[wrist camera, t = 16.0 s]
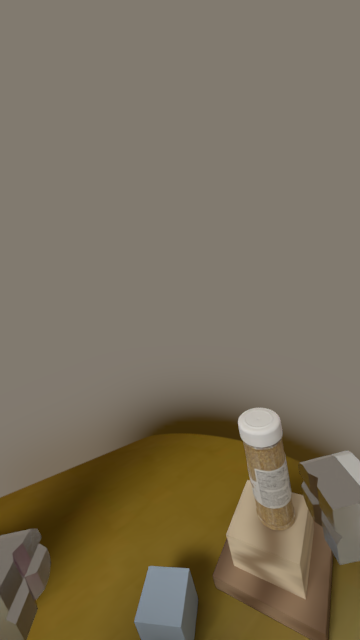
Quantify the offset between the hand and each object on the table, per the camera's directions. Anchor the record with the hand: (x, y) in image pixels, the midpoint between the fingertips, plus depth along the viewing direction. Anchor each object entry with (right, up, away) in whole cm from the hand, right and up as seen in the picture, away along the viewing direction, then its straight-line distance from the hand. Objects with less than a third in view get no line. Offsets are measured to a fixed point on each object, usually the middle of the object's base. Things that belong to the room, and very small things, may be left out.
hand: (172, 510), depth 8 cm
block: (0, -29, +22) cm, 36 cm away
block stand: (+13, -24, +26) cm, 38 cm away
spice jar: (+12, -18, +24) cm, 32 cm away
